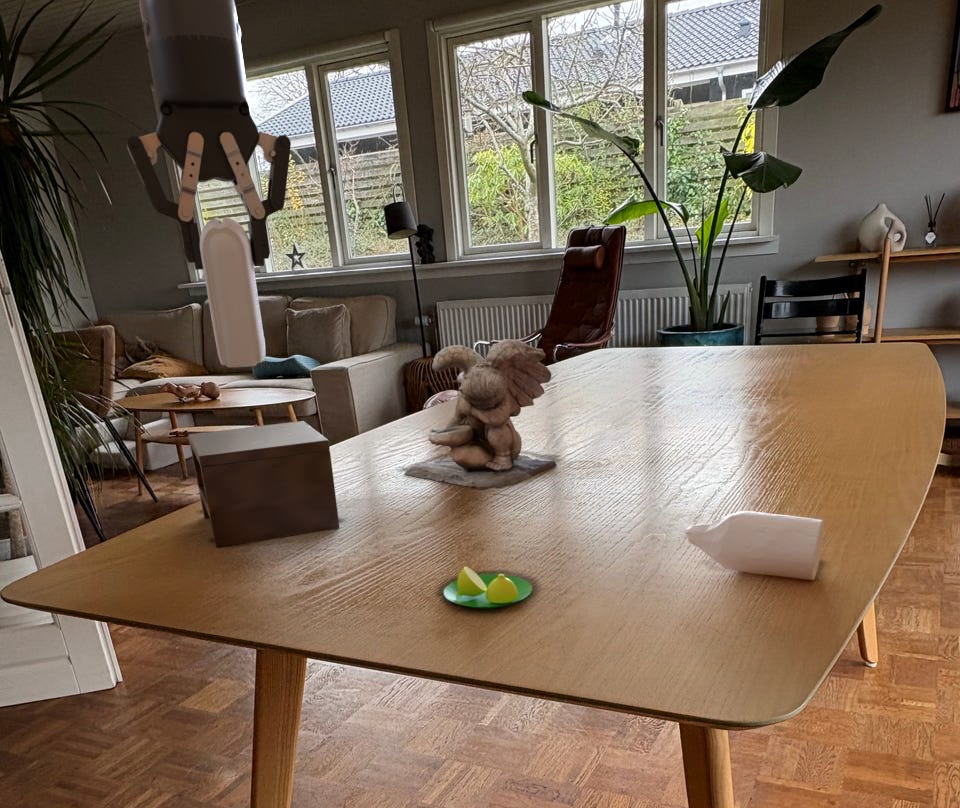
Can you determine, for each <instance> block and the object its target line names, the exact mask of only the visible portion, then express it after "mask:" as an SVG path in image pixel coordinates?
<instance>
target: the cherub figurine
mask: <svg viewBox="0 0 960 808" xmlns="http://www.w3.org/2000/svg"><path fill="white" fill-rule="evenodd" d="M544 359H546V353H545V351H544V350H543V349H542V348H536V347H532V346H530V345H528V344H526V342H525V341H522V340H518V339H510V338H505V339H502V340H501V341H498V342H497V343H494V344H492V346H491V347H490V349H489V350H488V352H487V355H486V358H484V357H483V356H482V355H481V354H480V353H478V352H477V351H475V350H474V349H472V348H470V347H467V346H465V345H463V344H454V345H450V346H446V347H444V348H442V349H440V351H438V352H437V353H435V356H434V358H433V362H432V365H431V369H432V370H433V371H435V372H437V373H439V372H444V371H446V370H448V369H451V368H457V369H458V368H459V369H460V370H461V372H463V373H464V375H465V376H464V377H463V378H462V381H461V384H460V386H459V388H458V391H459V393H458V394H457V398H456V399H457V400H456V404H455V406H454V413H453V416H452V417H450V418H449V420H448V421H447V423H446V424H445V426H444V427H443V428H439V429H434V428H431V429H430V430H429V433H428V437H427V440H428V442H430V444H431V445H435V446H442V447H449V448H450V450H449V453H450V457H448V458H444V459H439V460H435V461H434V462H430V463H429V462H428V463H427V462H426V463H418V464H415V465H413V466H410V468H409V469H407V470H406V471H405V472H404V473H403V476H404V475H405V476H409V477H416V478H422V479H428V480H432V481H433V480H434V481H436V482H444V483H448V484H453V485H457V486H461V487H469V489H471V488H474V489H475V490H486V489H492V488H496V489H497V488H498V489H503V487H507V486H511V485H515V484H517V483H520V482H522V481H524V480H526V479H529V478H531V477H533V476H536V475H538V474H541V473H543V472H545V471H548V470H550V469H552V468H554V467H557V463H556V461H555V460H542V459H538V458H535V459H534V458H532V457H530V456H528V455H523V454H521V451H522V445H523V441H522V436H521V435H520V433H519V432H518V431H517V429H516V428H515V425H514V423H513V421H512V419H511V418H516V417H518V416H519V415H520V414H521V411H522V408H526V407H532V406H535V403H534V400H535V399H539V398H540V397H542V396H543V395H544V394H545V389H544V387H543V386H542V385H543V384H548V383H550V381H551V380H552V375H553V374H552V372H551V370H550V368H549V367H548V366H546V365H544V364H543V363H541V362H540V361H542V360H544Z"/></svg>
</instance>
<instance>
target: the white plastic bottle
mask: <svg viewBox="0 0 960 808" xmlns="http://www.w3.org/2000/svg"><path fill="white" fill-rule="evenodd" d="M824 529H825V523H824V520H823V519H818V518H812V517H804V516H796V515H787V514H777V513H769V512H764V511H762V512H761V511H752V510H741V511H738V512H737V511H736V512H734V513H731V514H728V515H724V516H722V517H720V518H718V519H715V520H713V521H712V522H711V523H699V524H693V525H691V526H688V527H687V528H686V529H685V530H684V533H685V535H686V537H687V541H688V543H690V544H691V545H693V546H694V547H696V548H697V549H699V550H700V551H702V552H703V553H704V554H705V555H707V556H708V557H709V558H710V559H711V560H712V561H714V562H715V563H716V564H718V565H719V566H720V567H722V568H723V569H726V570H730V571H736V572H742V573H749V574H750V573H752V574H757V575H758V574H759V575H767V576H774V577H783V578H791V579H800V580H806V581H807V580H808V581H814V580H815V578H816V575H817V572H818V569H819V566H820V565H819V564H820V561H821V560H820V559H821V556H822V555H821V554H822V545H823V539H824Z"/></svg>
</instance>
